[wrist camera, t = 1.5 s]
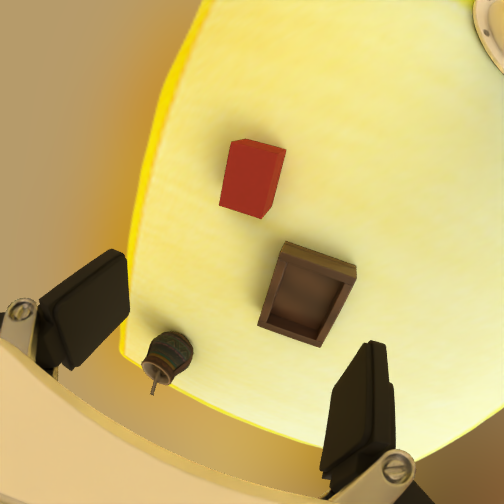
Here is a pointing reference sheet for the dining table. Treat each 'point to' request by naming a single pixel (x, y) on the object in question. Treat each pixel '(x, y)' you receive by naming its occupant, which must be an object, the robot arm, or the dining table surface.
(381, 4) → the dining table surface
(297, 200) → the dining table surface
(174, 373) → the mate gourd
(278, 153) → the red block
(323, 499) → the robot arm
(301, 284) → the brown shallow rectangular box
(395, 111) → the dining table surface
